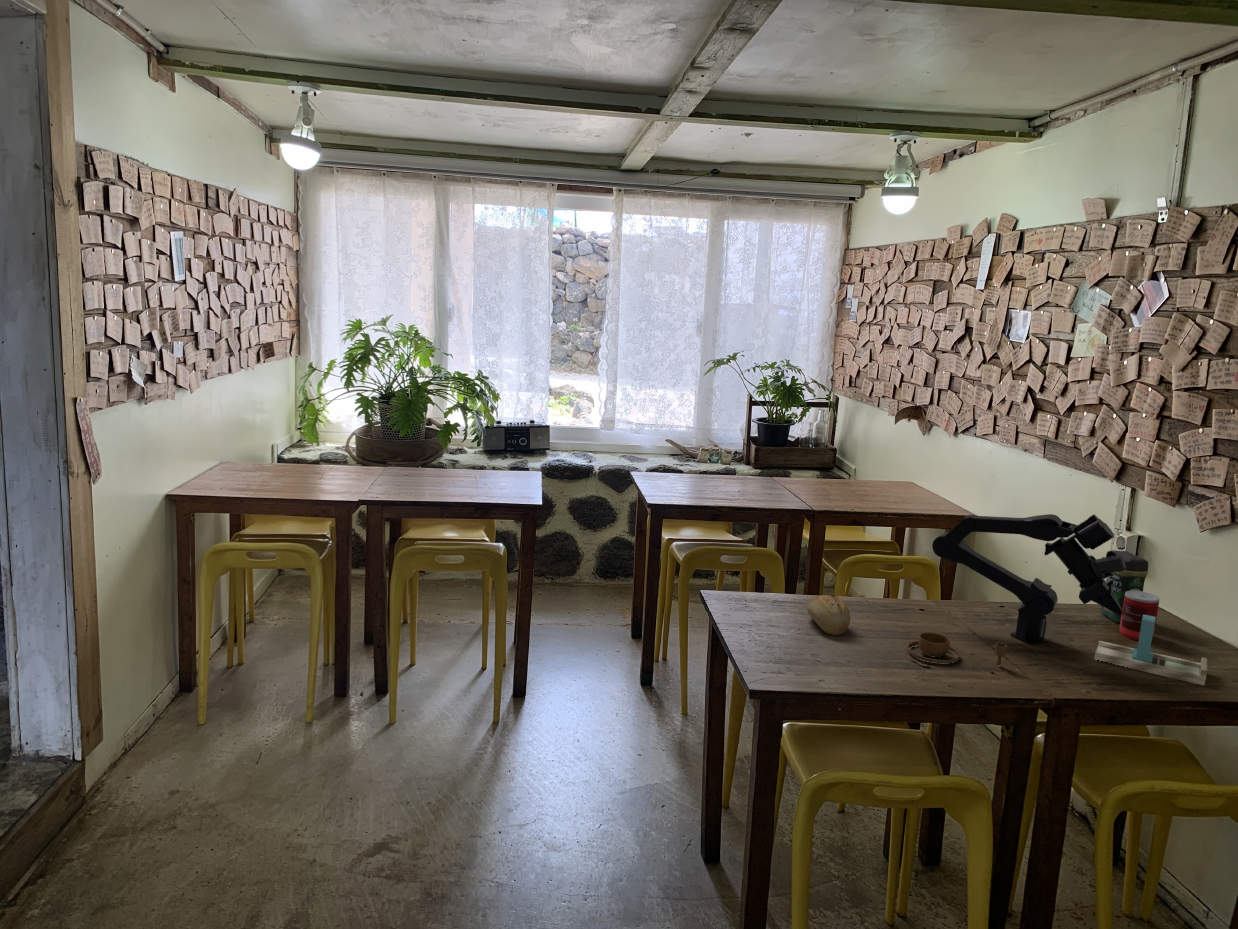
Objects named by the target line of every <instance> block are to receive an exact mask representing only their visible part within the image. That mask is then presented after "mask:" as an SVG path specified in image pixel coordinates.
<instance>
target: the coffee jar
mask: <svg viewBox="0 0 1238 929" xmlns="http://www.w3.org/2000/svg"><path fill="white" fill-rule="evenodd" d="M1114 551H1115V552H1116V553H1117V554H1118V555H1119V554H1121V555H1122V557H1123V558H1124V562H1125V565H1126V568H1125V570H1124V571H1122V572H1115V573H1114V575H1113V576H1108V577H1107V578H1106V581H1107V582H1110V581H1112V580H1114V583H1113V588H1112V590H1113V592H1114V594H1115V596H1116V598H1117V600H1118V602H1119V604H1120V606H1121V608H1122V609H1123V603H1124V597H1125V592H1127V591H1142V592H1144V587H1145V580H1146V578H1147V576H1148V572H1149V561H1148V560H1147V559H1145V558H1143V557H1140V556H1138V555H1135V554H1133V553H1131V552H1130V551H1128V550H1114ZM1100 612H1101V614H1102V615H1103V616H1105V617H1106V618H1108V619H1110V620H1112V621H1114V622H1116V623H1120V622H1121V616H1122V614H1120V615H1118V614H1116V613H1114V612H1112V611H1111V610H1109V609H1107V608H1105V607H1103V606H1101V608H1100Z"/></svg>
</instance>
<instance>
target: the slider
mask: <svg viewBox="0 0 1238 929" xmlns="http://www.w3.org/2000/svg"><path fill="white" fill-rule="evenodd" d="M1154 623H1155V617H1154V616H1149V615H1144V614H1143V618H1142V624H1141V630H1140V636H1139V641H1138V643H1137V648H1134V651H1133V656H1132V659H1134V660H1139V661H1143V662H1147V663H1152V659H1153V653H1154V652H1152V651H1151V646H1152V642H1153V641H1152V640H1153V638H1152V636H1153V637H1154V635H1153V629H1154ZM1154 630H1155V629H1154Z"/></svg>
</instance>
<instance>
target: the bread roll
mask: <svg viewBox="0 0 1238 929" xmlns="http://www.w3.org/2000/svg"><path fill="white" fill-rule="evenodd" d="M806 610H807V613H808V615H809V616H810V618H811V619H812V620H813V621H814V622H815V623H816V624H817V625H818V627H819V628H820V629H821V630H822V631H823V632H824V633H826V634H828V635H830V634H831V635H830V636H835V635H836V636H839V635H840V636H841V635H843V634H844V633H845V632H846V631H847V630H848V628H849V626H850V625H851V624H850V623H851V613H850V608H849V606H848V605H847V603H846V602H845V601H844V600H843V599H842V598H841V597H839V596H837V595H836V594H835V595H834V594H831V595H830V594H829V595H828V594H824V595H817V596H815V597H813V598H811V599H810V601H809V603H808V604H807V607H806Z"/></svg>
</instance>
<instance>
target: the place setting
mask: <svg viewBox="0 0 1238 929" xmlns="http://www.w3.org/2000/svg"><path fill="white" fill-rule="evenodd" d="M950 644H951V639H950V638H949V637H948V636H946V635H943V634H941V633H935V632H922V633H920V634H919V636H918V640H913V641H911V642H909V643H908V644H906V650H907V652H908V654H909V655H910V654H911V655H912V656H914V657H916V658H919V659H922V660H925V661H929V662H937V663H952V662H955V663H957V662H958V661H959V660H960V656H961V654H960V652H959V650H957V649H956V648H955V647H952V646H951V645H950ZM915 645H919V647H918V648H919V650H920V651H921V652H922V653H923V654H924V653H925V654H927V655H929V656H935V657H939V656H941V657H943V656H945V655H947V654H948V653H949V652H948V651H949V650H950V651H952V652H954V653H955V654H956V655H957V656H958V657H957V658H955V657H954V658H952V659H937V658H931V657H927V656H926V657H925V656H923V655H919V654H917V653H916V652H914V651H912V649H911V650H910V649H909V648H910V647H912V646H915ZM994 646H995V647H994V653H995V656H997V660H996V665H1000V666H1001V664H1002V658H1003V657H1005V656H1006V654H1007V649H1008V644H1006V643H1003V642H996V643H995V645H994ZM925 654H924V655H925ZM911 655H910V656H911ZM912 656H911V657H912ZM914 657H913V658H914ZM916 658H915V659H916ZM956 661H957V662H956Z"/></svg>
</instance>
